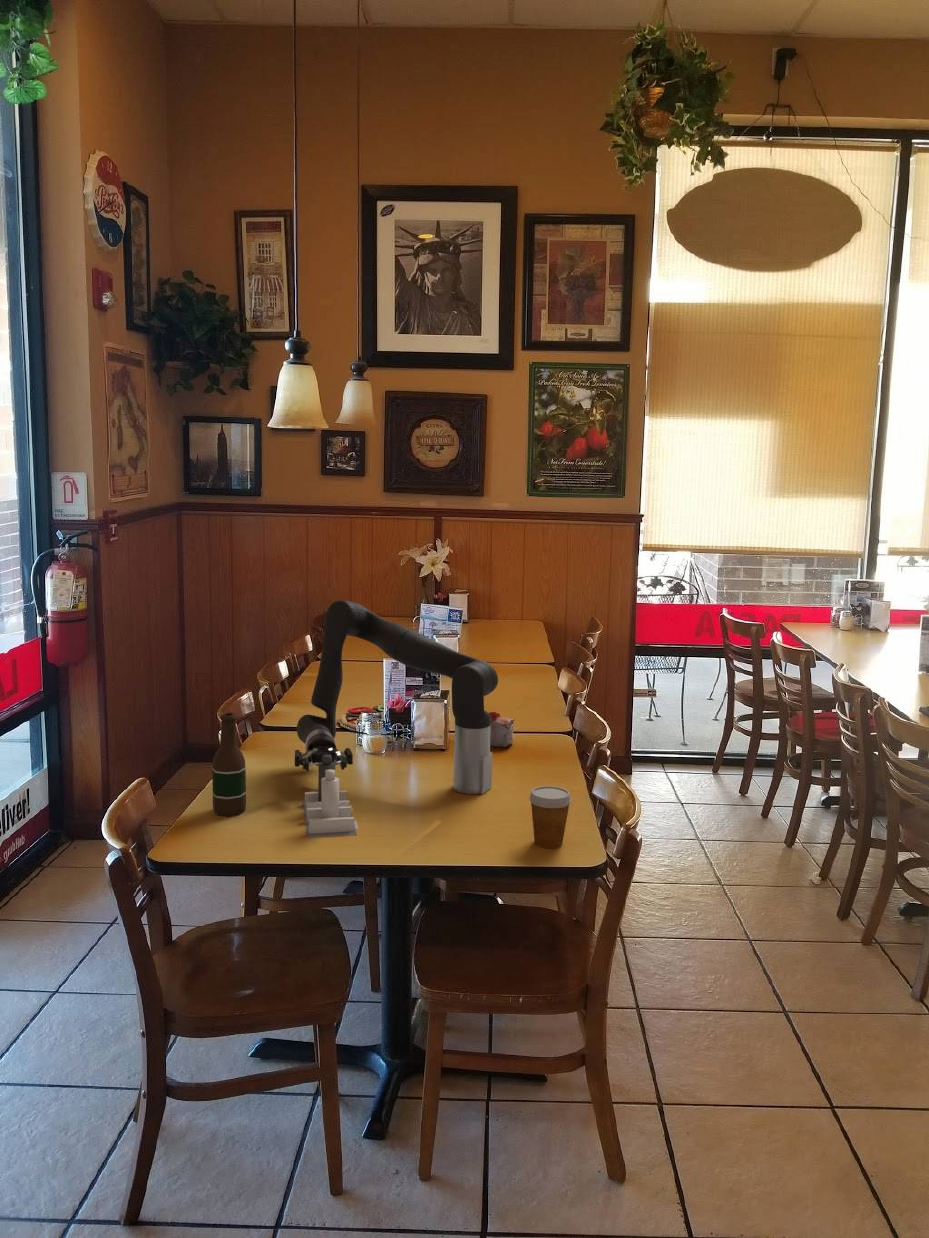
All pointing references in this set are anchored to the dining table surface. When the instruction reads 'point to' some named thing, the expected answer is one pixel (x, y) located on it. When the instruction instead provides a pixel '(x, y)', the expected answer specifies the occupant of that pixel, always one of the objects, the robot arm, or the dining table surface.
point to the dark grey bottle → (322, 767)
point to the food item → (501, 730)
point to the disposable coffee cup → (549, 815)
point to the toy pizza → (356, 716)
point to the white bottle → (330, 795)
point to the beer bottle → (229, 772)
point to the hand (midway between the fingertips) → (325, 766)
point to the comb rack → (328, 825)
